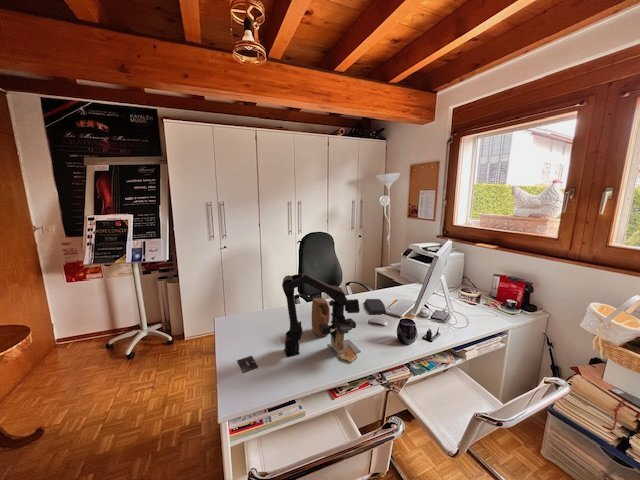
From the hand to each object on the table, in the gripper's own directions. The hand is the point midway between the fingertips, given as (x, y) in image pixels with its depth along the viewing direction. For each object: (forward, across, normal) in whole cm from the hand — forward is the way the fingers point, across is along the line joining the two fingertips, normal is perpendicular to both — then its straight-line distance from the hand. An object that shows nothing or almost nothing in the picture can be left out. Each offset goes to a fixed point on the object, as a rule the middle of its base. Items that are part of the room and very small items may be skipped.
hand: (337, 341), depth 133 cm
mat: (+5, +4, 0) cm, 6 cm away
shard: (+5, +2, -6) cm, 8 cm away
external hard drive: (+6, +48, +33) cm, 58 cm away
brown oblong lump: (+5, -1, +18) cm, 19 cm away
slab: (+2, 0, 0) cm, 2 cm away
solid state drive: (+6, -44, +7) cm, 45 cm away
